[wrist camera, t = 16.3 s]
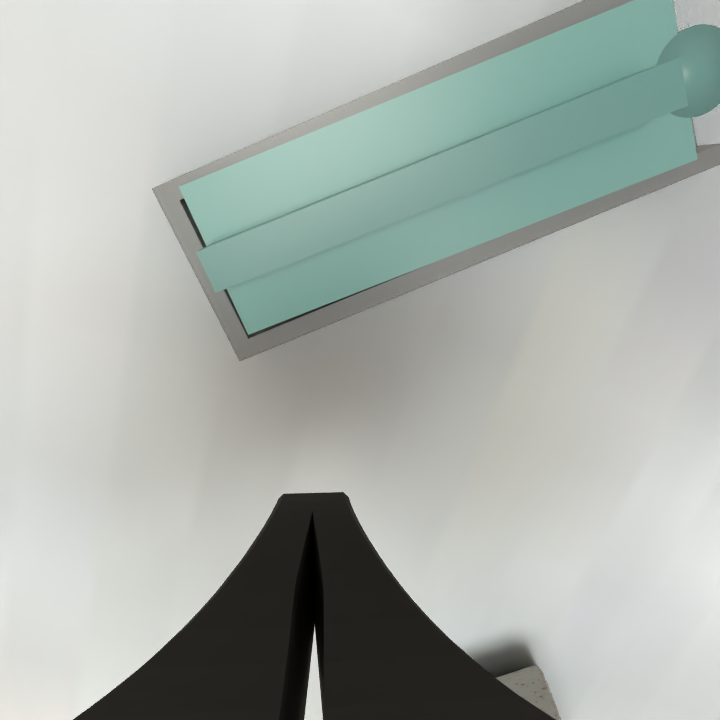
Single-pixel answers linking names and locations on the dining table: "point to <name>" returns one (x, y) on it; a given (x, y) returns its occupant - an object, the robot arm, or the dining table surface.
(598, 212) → the grey open box
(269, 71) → the dining table surface
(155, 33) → the dining table surface
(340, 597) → the robot arm
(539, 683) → the ceramic mug
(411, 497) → the dining table surface
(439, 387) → the dining table surface
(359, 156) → the cover
